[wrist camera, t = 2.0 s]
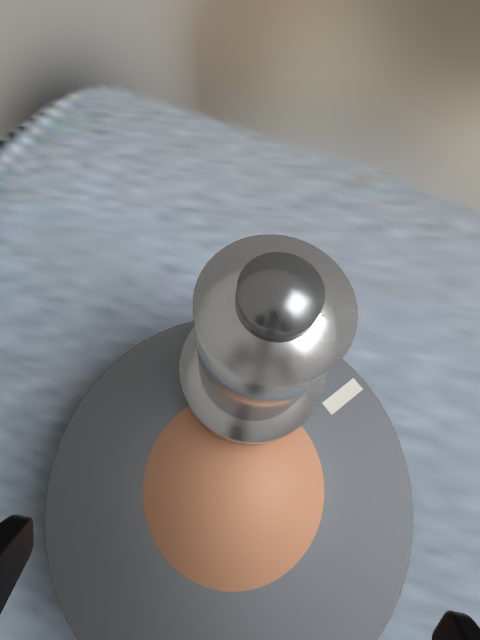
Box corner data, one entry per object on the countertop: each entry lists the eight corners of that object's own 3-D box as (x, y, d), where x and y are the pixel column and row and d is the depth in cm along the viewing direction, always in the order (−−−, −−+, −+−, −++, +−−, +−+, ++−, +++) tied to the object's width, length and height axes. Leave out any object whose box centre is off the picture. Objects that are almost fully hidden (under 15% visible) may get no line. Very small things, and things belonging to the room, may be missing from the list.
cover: (235, 477, 19) (259, 472, 10) (154, 357, 21) (111, 262, 12) (345, 388, 21) (449, 317, 12) (262, 288, 23) (296, 162, 14)
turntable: (184, 832, 15) (182, 860, 14) (-7, 444, 20) (-20, 442, 19) (471, 521, 20) (486, 523, 19) (263, 274, 25) (265, 265, 24)
